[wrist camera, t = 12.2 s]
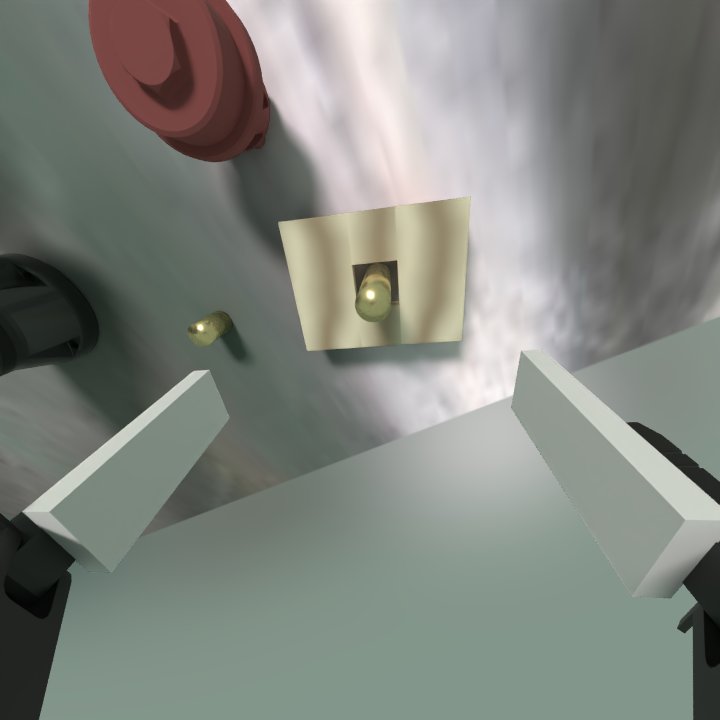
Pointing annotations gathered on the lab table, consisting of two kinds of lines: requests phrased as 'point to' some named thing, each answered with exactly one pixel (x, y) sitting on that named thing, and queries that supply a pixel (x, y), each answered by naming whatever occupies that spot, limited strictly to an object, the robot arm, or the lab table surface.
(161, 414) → the robot arm
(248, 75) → the mechanical component
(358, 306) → the long pin
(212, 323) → the short pin
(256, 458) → the lab table surface
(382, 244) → the stand
